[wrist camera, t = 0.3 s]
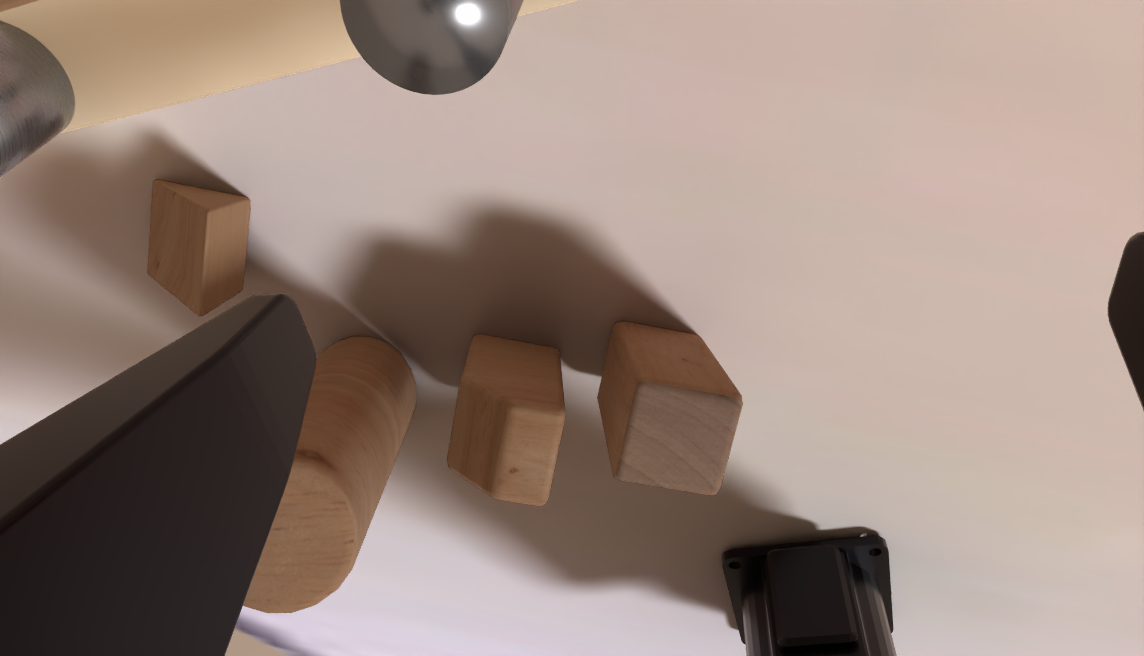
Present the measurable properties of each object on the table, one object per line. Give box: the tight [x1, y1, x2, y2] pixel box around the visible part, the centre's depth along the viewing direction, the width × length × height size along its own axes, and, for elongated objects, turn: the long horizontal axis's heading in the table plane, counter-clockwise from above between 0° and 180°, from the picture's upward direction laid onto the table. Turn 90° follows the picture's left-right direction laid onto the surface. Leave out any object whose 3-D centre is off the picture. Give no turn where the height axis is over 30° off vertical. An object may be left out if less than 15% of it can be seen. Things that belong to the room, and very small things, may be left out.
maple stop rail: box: [0, 0, 579, 134], centre depth 20 cm, size 3×24×3 cm, turn 105°
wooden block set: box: [147, 180, 743, 613], centre depth 24 cm, size 18×9×10 cm, turn 79°
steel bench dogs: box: [0, 0, 524, 177], centre depth 19 cm, size 3×15×7 cm, turn 105°
